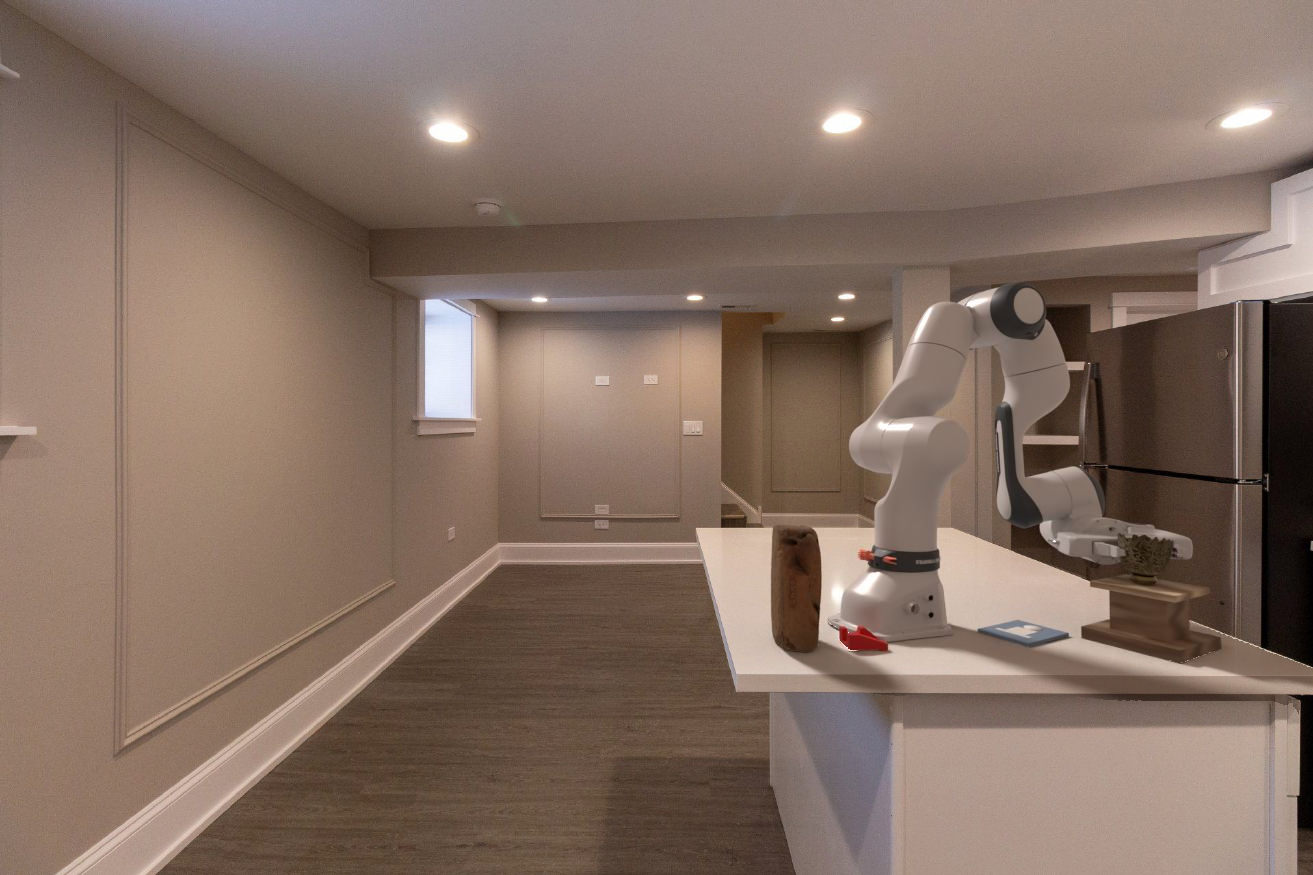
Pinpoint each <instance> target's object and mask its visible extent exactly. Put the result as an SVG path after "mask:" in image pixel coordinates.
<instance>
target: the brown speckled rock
mask: <svg viewBox="0 0 1313 875" xmlns="http://www.w3.org/2000/svg"><path fill="white" fill-rule="evenodd" d="M771 533H772V534H771V536H772V537H771V555H770V556H771V561H770V567H771V568H770V619H771V620H770V621H771V634H772V638H773V640H774V642H775V643H776V644H777V643H778V644H777V645H779V644H780V646H781V647H782V648H784V649H785V650H787V649H788V651H792V652H798V653H799V652H800V653H805V652H806V653H807V652H808V653H809V652H812V651H814V650H816V649H817V647H818V645H819V641H820V640H819V638H820V637H819V636H820V618H821V617H820V615H821V603H822V601H821V600H822V577H823V575H822V556H821V549H820V548H821V547H820V542H819V536H818V534H817V531H816V530H815V529H814V528H812V527H811V526H808V525H796V524H795V525H791V524H774V525H773V527H772V531H771Z"/></svg>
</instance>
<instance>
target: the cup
mask: <svg viewBox="0 0 1313 875" xmlns="http://www.w3.org/2000/svg"><path fill="white" fill-rule="evenodd" d="M1117 537H1118V546H1122V547H1125V548H1126V552H1125V553H1126V557H1120V561H1121V562H1120V563H1121V566H1122V567H1123V568H1124V569H1125V570H1126V571H1127V572H1130V574H1129V578H1130V580H1131V581H1132V582H1134V583H1138V584H1143V585H1154V584H1156V582H1157V579H1158V578H1157V577H1158V576H1161V575H1163V574H1164V573H1165V572H1167V570H1168V567H1169V565H1170V562H1171V559H1170V557H1171V553H1172V547H1173V543H1174V541H1173V540H1172V541H1171V540H1170V539H1169V540H1166V539H1165V538H1163V539H1162V540H1161V541H1160V542H1159V540H1158V538H1157V537H1155V538H1154V539H1152V540H1151V538H1150V537H1148V536H1146V535H1142V536H1139V537H1138V536H1137V535H1135V534H1134V535H1132V538H1130V537H1129V538H1126V537H1125V535H1124V534H1123V535H1121V534H1120V533H1119V534H1117Z"/></svg>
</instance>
